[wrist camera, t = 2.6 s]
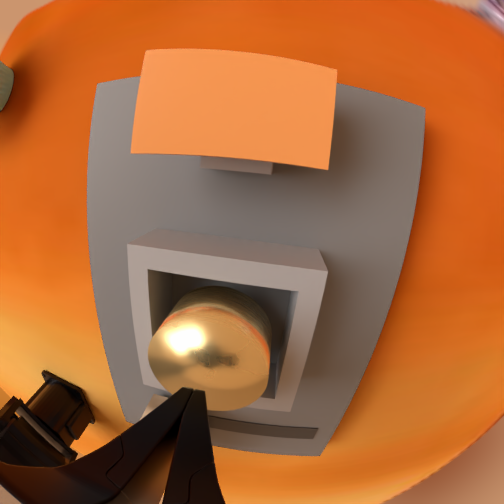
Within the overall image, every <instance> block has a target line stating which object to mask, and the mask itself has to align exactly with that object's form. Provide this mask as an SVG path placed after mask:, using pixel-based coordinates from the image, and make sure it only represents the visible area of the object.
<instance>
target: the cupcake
mask: <svg viewBox="0 0 504 504" xmlns="http://www.w3.org/2000/svg"><path fill="white" fill-rule="evenodd" d="M13 81H14V73H13V71H12V69H10V68H9V67H7V66H6V65H5V64H3V63H2V62H1V61H0V111H1V110H2V109H3V107H4V106H5V104H6V102H7V100H8V98H9V96H10V93H11V90H12V86H13Z"/></svg>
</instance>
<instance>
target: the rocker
mask: <svg viewBox="0 0 504 504" xmlns="http://www.w3.org/2000/svg"><path fill="white" fill-rule="evenodd" d="M336 82H337V70H335V69H332V68H328V67H324V66H320V65H316V64H312V63H308V62H303V61H298V60H293V59H288V58H283V57H277V56H271V55H264V54H257V53H249V52H239V51H228V50H212V49H158V50H146V53H145V57H144V62H143V67H142V72H141V77H140V83H139V89H138V95H137V101H136V108H135V116H134V124H133V133H132V143H131V154H163V155H190V156H208V157H222V158H234V159H245V160H255V161H264V162H272V163H280V164H287V165H295V166H302V167H308V168H314V169H323V170H328V166H329V158H330V150H331V140H332V131H333V120H334V109H335V96H336Z"/></svg>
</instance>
